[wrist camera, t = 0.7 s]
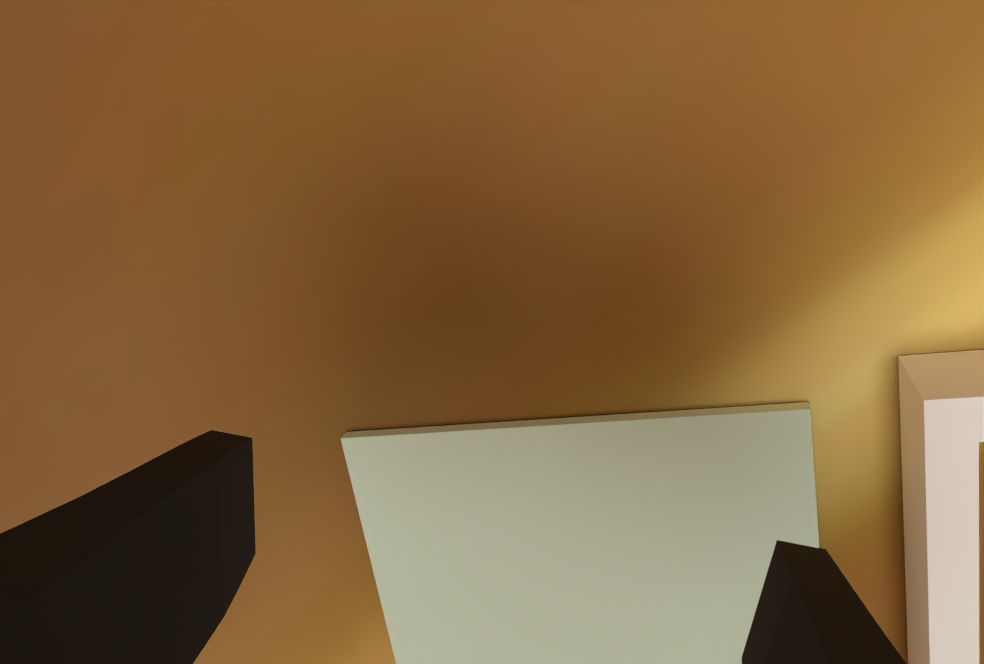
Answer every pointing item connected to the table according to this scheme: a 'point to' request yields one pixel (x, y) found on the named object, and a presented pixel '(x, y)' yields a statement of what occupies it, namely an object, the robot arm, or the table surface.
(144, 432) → the table surface
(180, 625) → the robot arm
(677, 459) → the sage tile
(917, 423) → the white bin
